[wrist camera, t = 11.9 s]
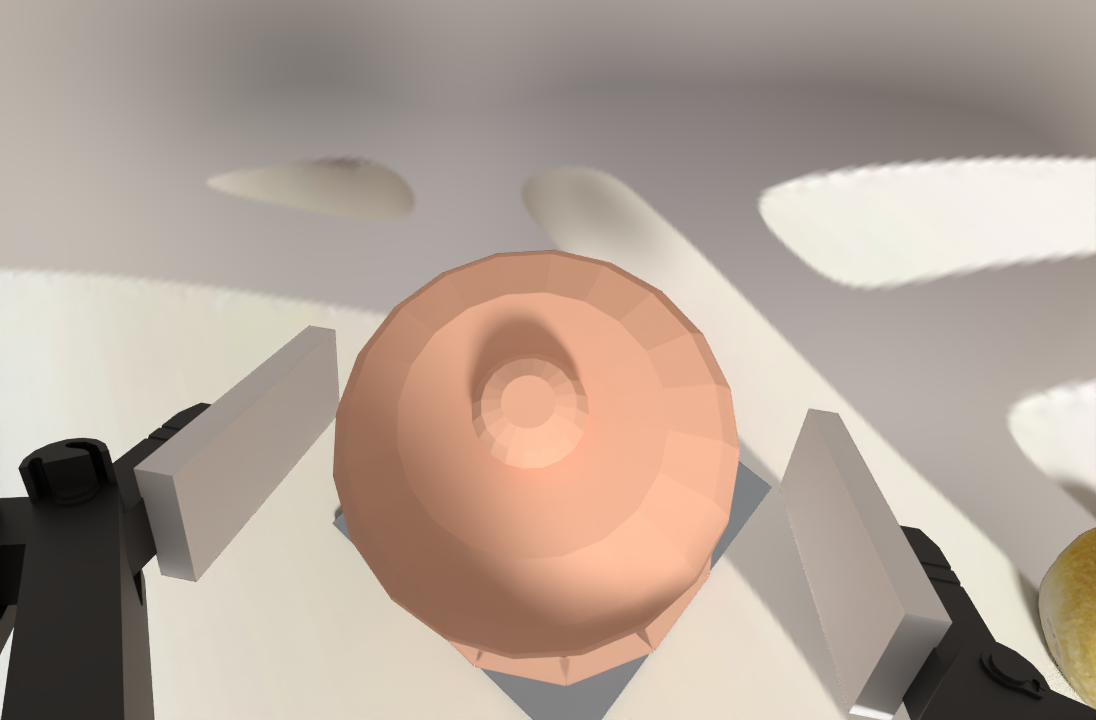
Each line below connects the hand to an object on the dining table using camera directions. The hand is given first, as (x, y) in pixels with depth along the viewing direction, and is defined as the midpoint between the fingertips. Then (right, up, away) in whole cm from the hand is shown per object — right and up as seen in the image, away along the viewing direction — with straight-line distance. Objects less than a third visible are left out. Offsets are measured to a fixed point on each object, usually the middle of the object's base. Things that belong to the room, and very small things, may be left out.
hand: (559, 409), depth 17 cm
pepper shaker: (0, -5, +10) cm, 11 cm away
